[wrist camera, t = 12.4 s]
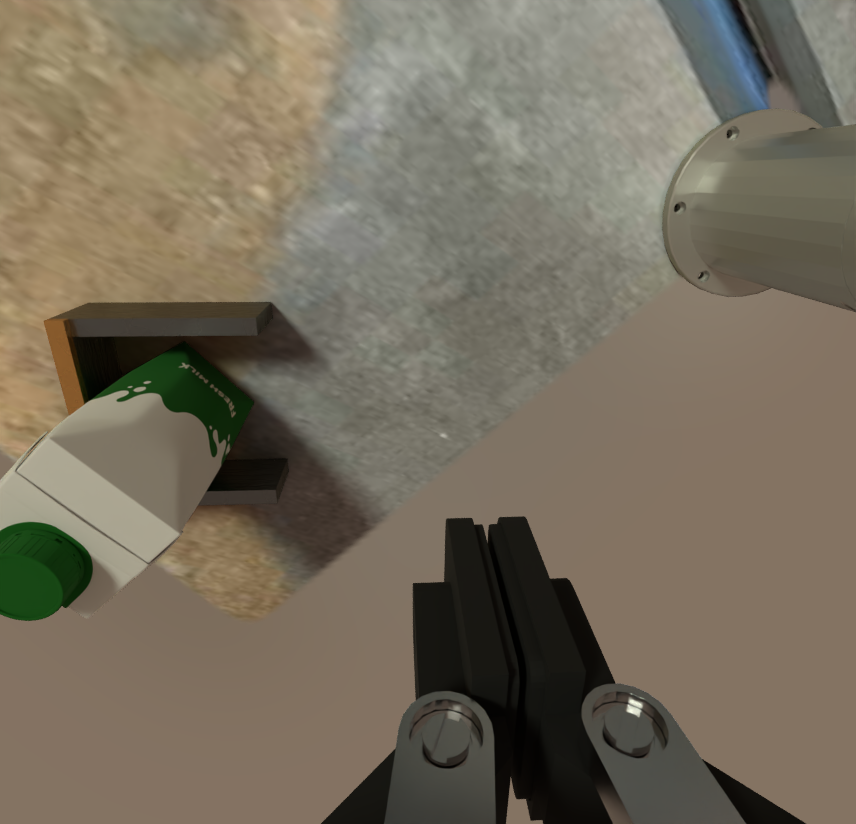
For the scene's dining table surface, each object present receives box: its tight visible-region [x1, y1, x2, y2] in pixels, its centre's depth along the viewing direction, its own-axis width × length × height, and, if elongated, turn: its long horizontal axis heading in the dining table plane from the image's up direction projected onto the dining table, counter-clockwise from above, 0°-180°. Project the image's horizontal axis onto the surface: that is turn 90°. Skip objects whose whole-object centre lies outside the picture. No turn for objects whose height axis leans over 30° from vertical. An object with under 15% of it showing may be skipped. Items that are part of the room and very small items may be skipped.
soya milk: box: [0, 341, 254, 621], centre depth 34 cm, size 9×9×20 cm
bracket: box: [44, 302, 289, 505], centre depth 41 cm, size 13×14×6 cm
